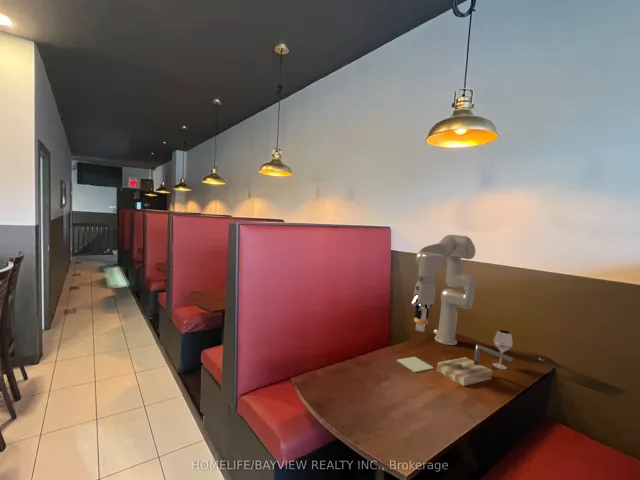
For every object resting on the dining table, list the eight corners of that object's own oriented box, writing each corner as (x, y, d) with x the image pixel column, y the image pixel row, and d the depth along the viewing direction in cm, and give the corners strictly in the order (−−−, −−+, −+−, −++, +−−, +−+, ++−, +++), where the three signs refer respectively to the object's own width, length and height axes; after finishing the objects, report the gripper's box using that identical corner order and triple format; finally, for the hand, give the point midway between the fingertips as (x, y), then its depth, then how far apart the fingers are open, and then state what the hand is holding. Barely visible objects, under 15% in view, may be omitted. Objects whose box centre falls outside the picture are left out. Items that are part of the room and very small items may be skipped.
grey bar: (472, 363, 147) (475, 344, 146) (475, 362, 148) (477, 344, 147) (508, 379, 133) (511, 359, 133) (510, 378, 135) (513, 358, 134)
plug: (410, 328, 148) (412, 306, 148) (419, 327, 151) (422, 305, 151) (420, 333, 143) (423, 310, 142) (429, 331, 146) (432, 309, 145)
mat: (396, 360, 150) (396, 359, 150) (414, 357, 156) (414, 356, 156) (415, 372, 140) (415, 371, 140) (433, 368, 146) (433, 367, 146)
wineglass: (504, 364, 160) (508, 330, 159) (512, 371, 152) (517, 335, 151) (487, 361, 161) (492, 328, 160) (495, 369, 153) (499, 333, 152)
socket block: (436, 370, 144) (437, 362, 144) (464, 364, 154) (465, 357, 154) (463, 386, 132) (464, 377, 132) (491, 378, 142) (492, 370, 141)
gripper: (419, 281, 138) (414, 321, 139) (444, 281, 146) (439, 319, 148) (407, 278, 145) (402, 316, 146) (431, 278, 153) (427, 314, 154)
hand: (421, 317), depth 147 cm, fingers closed on plug, 4 cm apart
